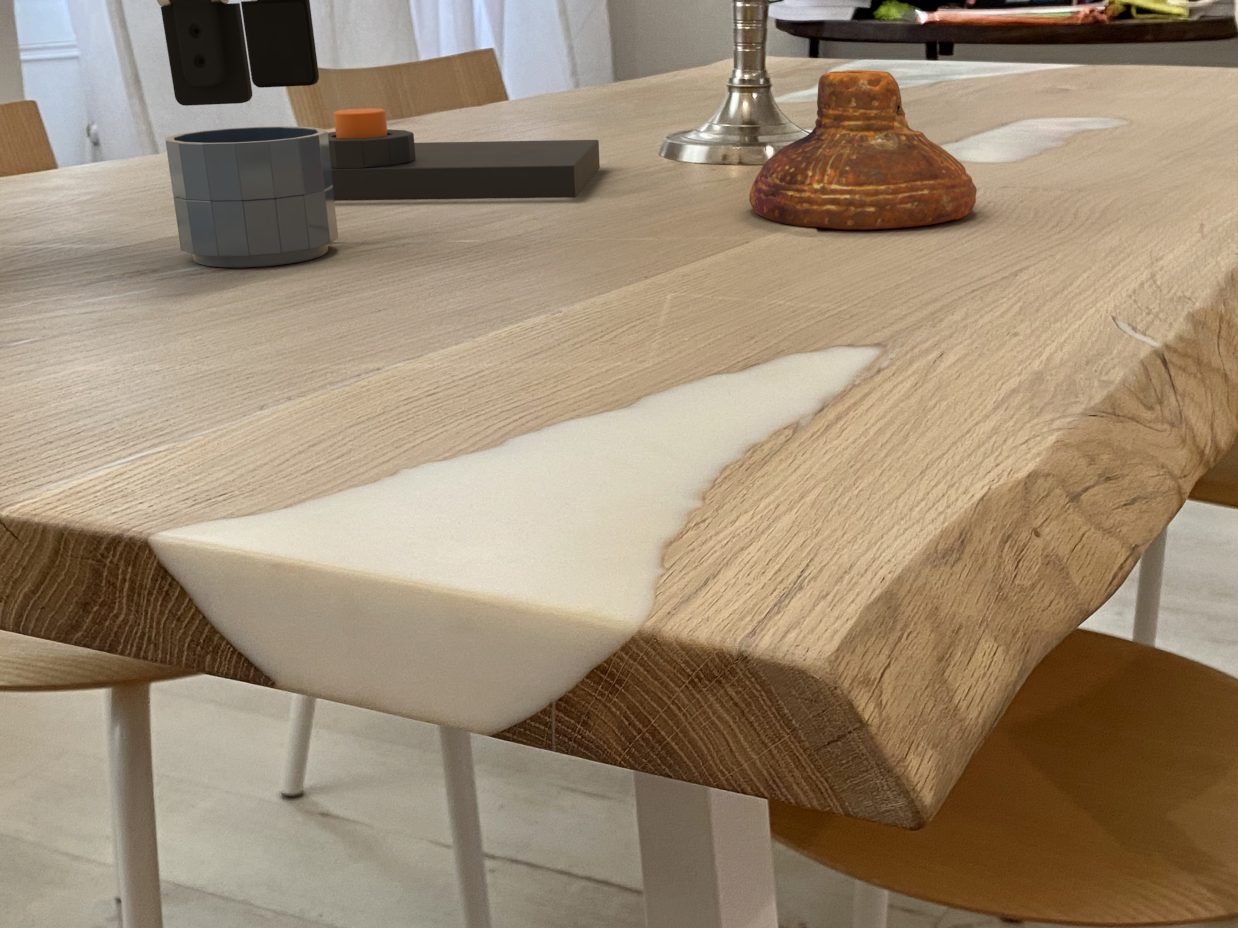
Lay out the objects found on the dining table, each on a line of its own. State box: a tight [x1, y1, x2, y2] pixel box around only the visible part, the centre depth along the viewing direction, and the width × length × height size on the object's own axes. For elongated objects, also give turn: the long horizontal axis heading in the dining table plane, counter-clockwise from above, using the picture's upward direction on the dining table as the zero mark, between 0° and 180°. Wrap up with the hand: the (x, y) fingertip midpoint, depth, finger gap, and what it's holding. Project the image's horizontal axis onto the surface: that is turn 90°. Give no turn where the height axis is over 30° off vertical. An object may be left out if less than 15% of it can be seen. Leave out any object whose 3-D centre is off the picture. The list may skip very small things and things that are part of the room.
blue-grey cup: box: [164, 125, 339, 269], centre depth 68 cm, size 7×7×6 cm
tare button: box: [333, 107, 388, 138], centre depth 86 cm, size 3×3×2 cm
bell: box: [748, 69, 978, 230], centre depth 75 cm, size 12×12×7 cm
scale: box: [327, 128, 601, 202], centre depth 89 cm, size 16×13×4 cm
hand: (253, 94), depth 66 cm, fingers open, 9 cm apart
